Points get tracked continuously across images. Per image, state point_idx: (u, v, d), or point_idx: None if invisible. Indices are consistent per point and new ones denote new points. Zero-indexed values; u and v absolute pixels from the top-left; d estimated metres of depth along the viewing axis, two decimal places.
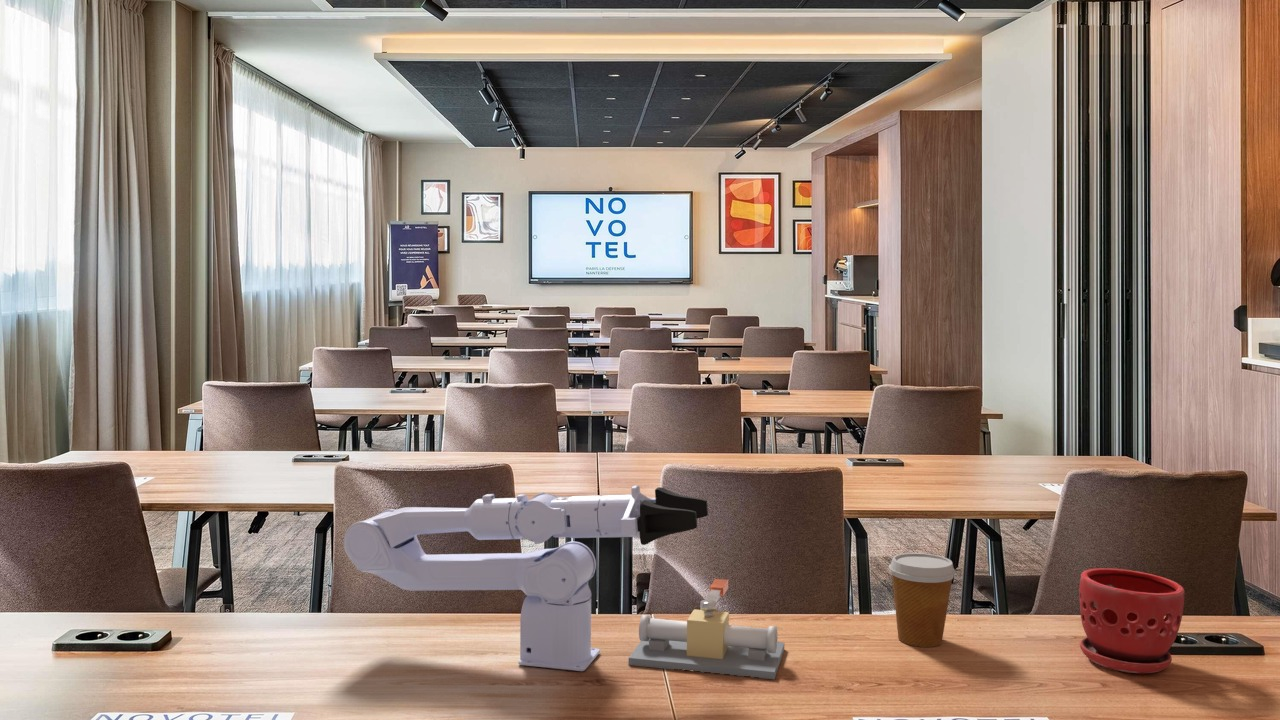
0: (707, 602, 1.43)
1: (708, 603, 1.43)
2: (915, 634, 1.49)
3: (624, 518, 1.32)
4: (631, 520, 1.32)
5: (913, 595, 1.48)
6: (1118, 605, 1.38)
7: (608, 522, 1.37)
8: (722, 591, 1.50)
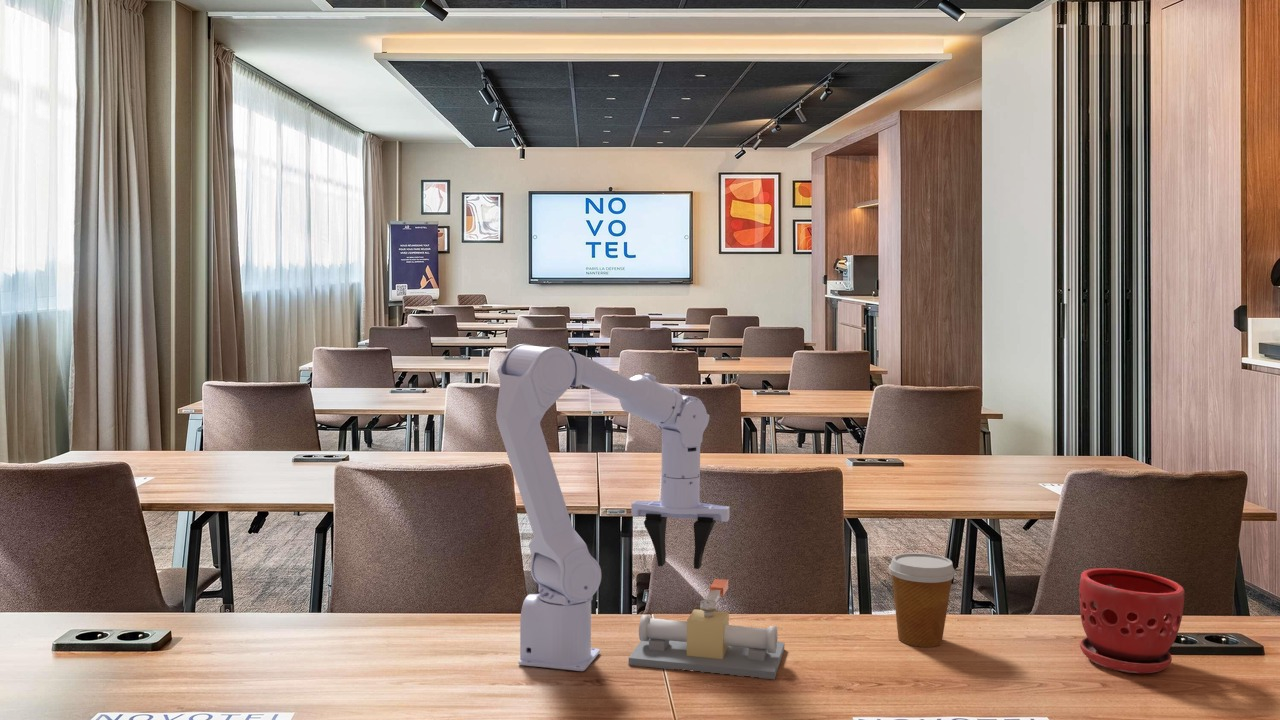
0: (707, 602, 1.43)
1: (708, 603, 1.43)
2: (915, 634, 1.49)
3: None
4: None
5: (913, 595, 1.48)
6: (1118, 605, 1.38)
7: (698, 486, 1.51)
8: (722, 591, 1.50)
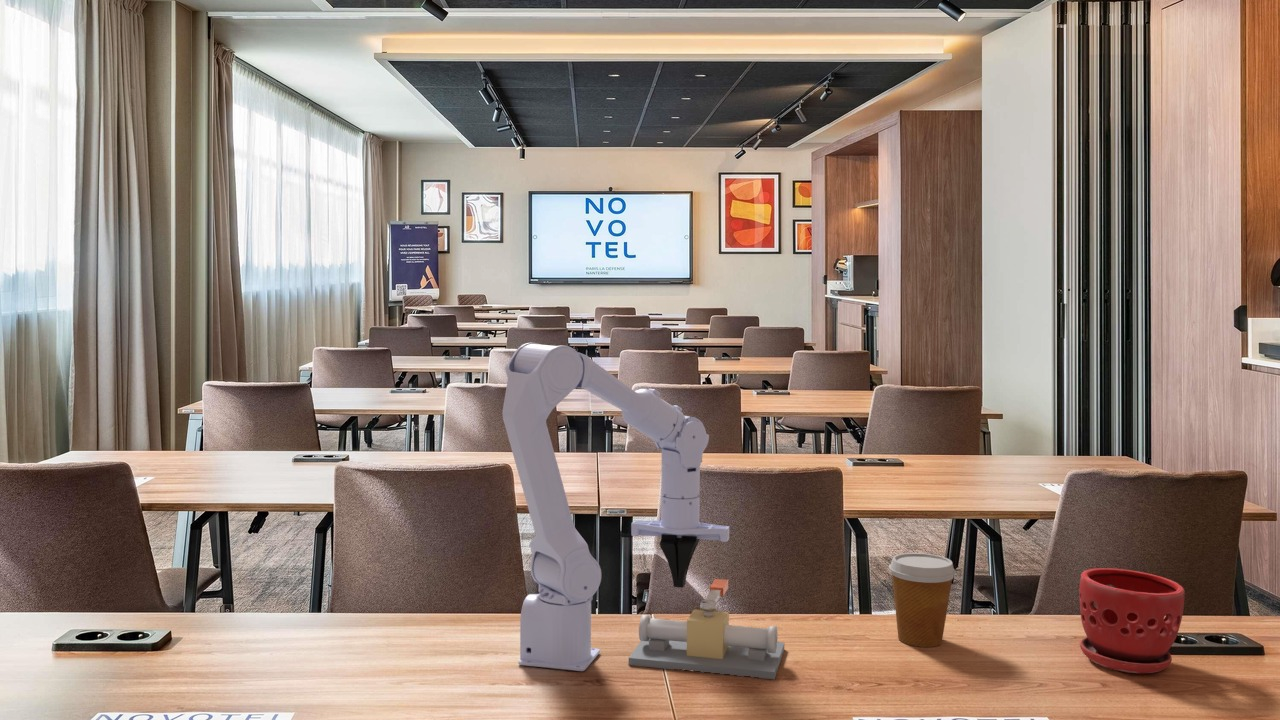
0: (707, 602, 1.43)
1: (708, 603, 1.43)
2: (915, 634, 1.49)
3: None
4: None
5: (913, 595, 1.48)
6: (1118, 605, 1.38)
7: (698, 506, 1.52)
8: (722, 591, 1.50)
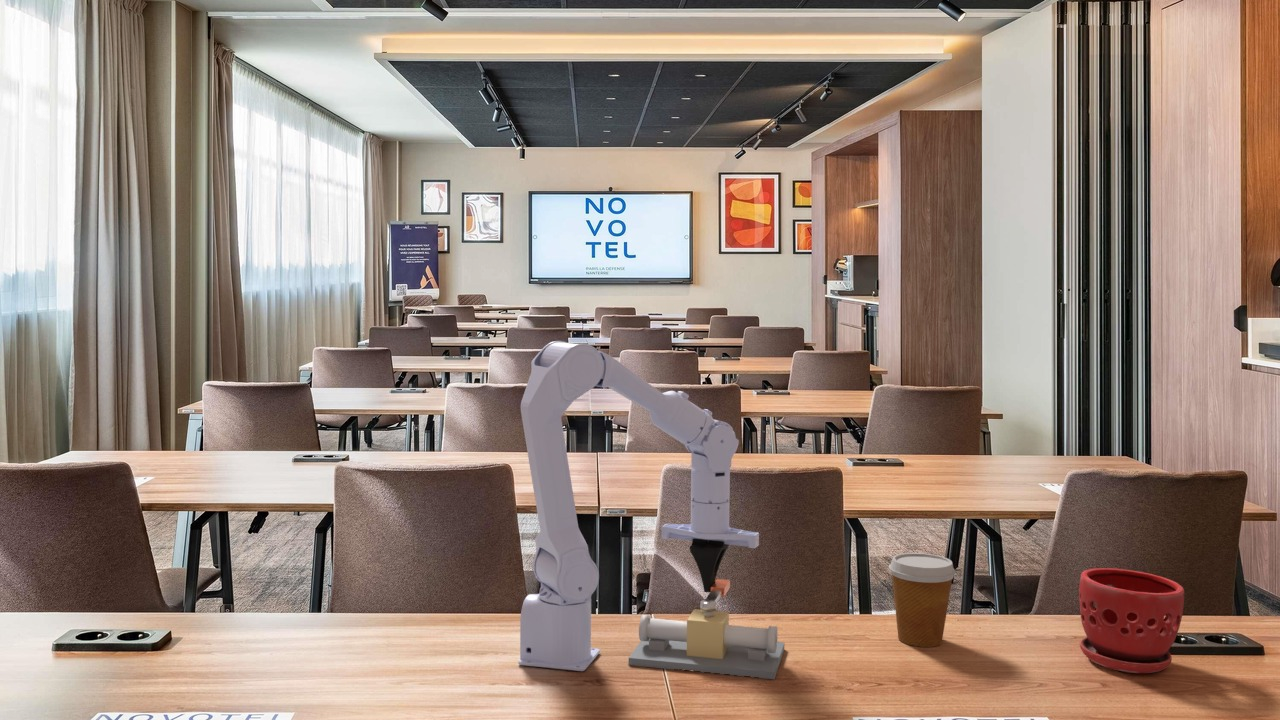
0: (707, 602, 1.43)
1: (708, 603, 1.43)
2: (915, 634, 1.49)
3: None
4: (758, 542, 1.50)
5: (913, 595, 1.48)
6: (1118, 605, 1.38)
7: (727, 511, 1.50)
8: (723, 591, 1.50)
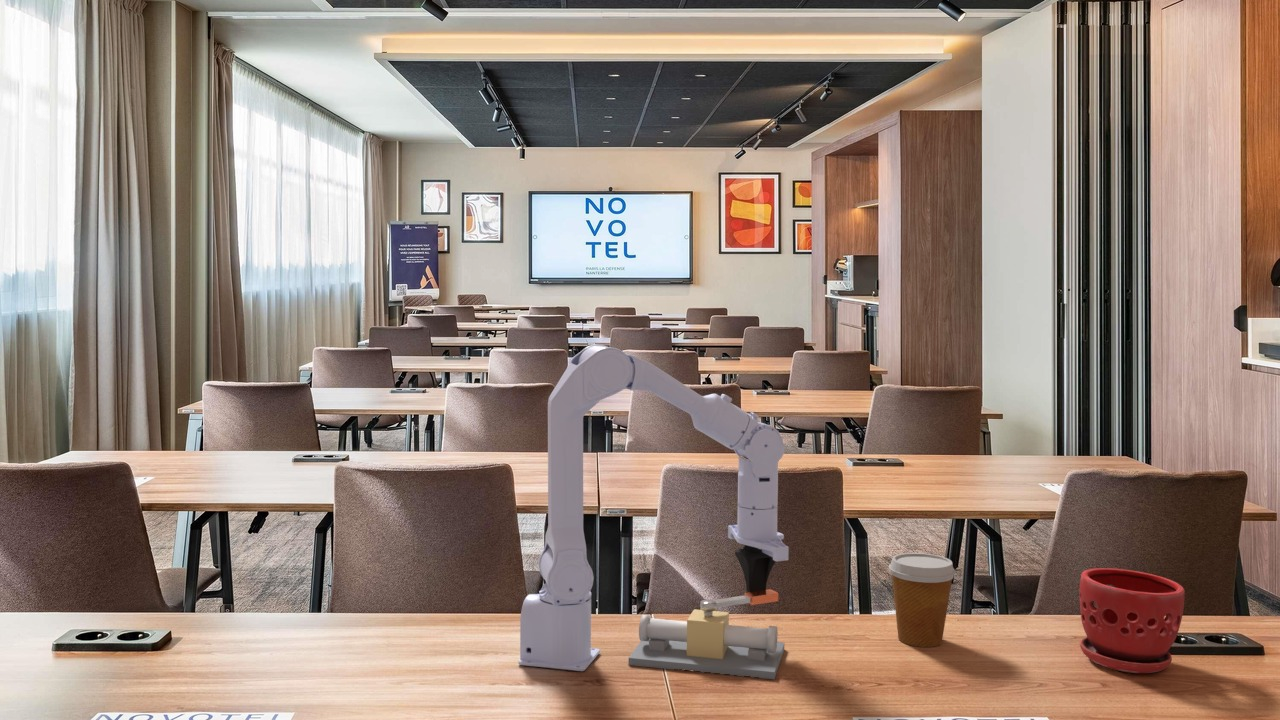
0: (706, 602, 1.43)
1: (704, 602, 1.43)
2: (915, 634, 1.49)
3: None
4: (787, 557, 1.42)
5: (913, 595, 1.48)
6: (1118, 605, 1.38)
7: (765, 519, 1.45)
8: (752, 600, 1.46)
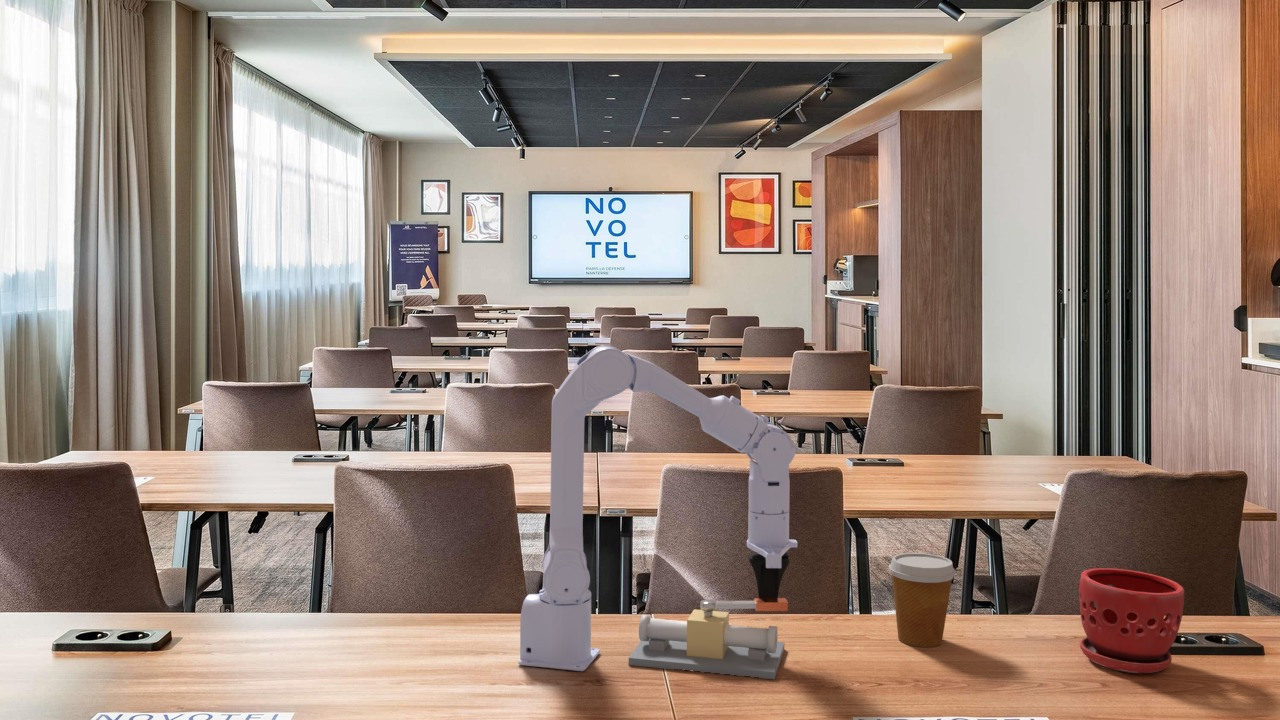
0: (706, 601, 1.43)
1: (703, 602, 1.43)
2: (915, 634, 1.49)
3: None
4: (780, 564, 1.38)
5: (913, 595, 1.48)
6: (1118, 605, 1.38)
7: (768, 524, 1.42)
8: None
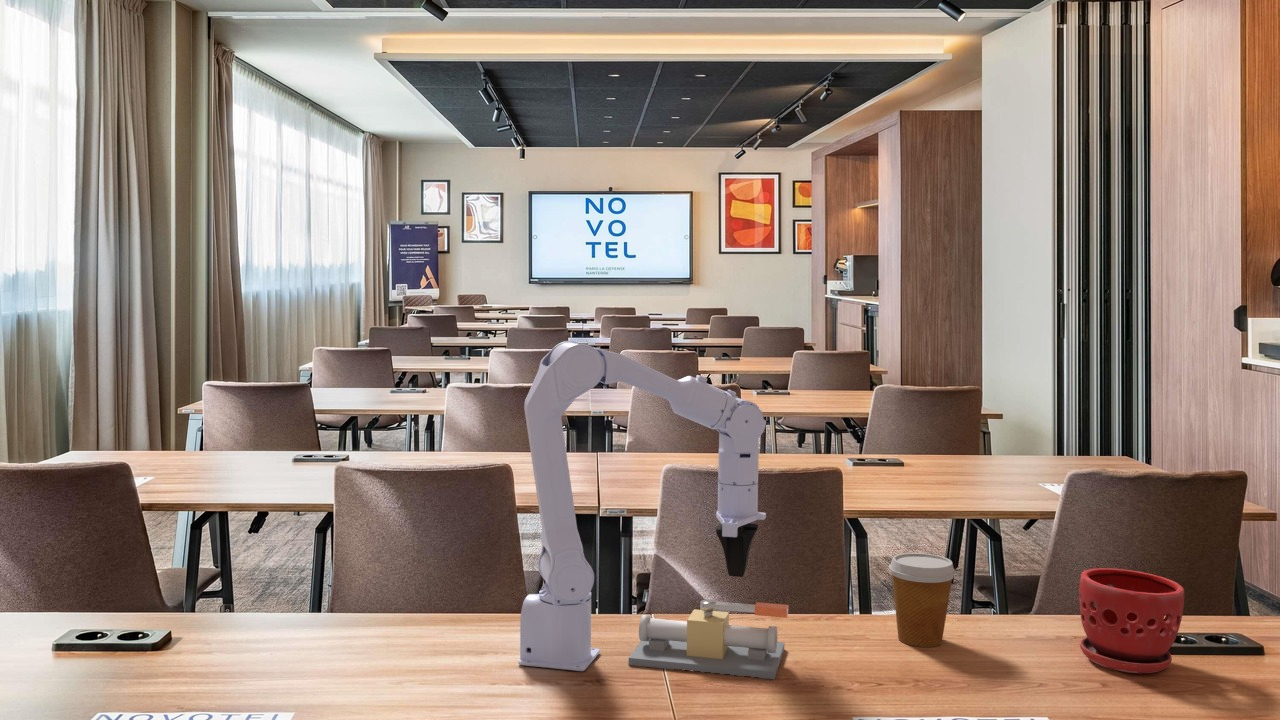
0: (706, 601, 1.44)
1: (703, 601, 1.43)
2: (915, 634, 1.49)
3: (737, 525, 1.41)
4: (735, 534, 1.41)
5: (913, 595, 1.48)
6: (1118, 605, 1.38)
7: (732, 495, 1.45)
8: (755, 610, 1.41)
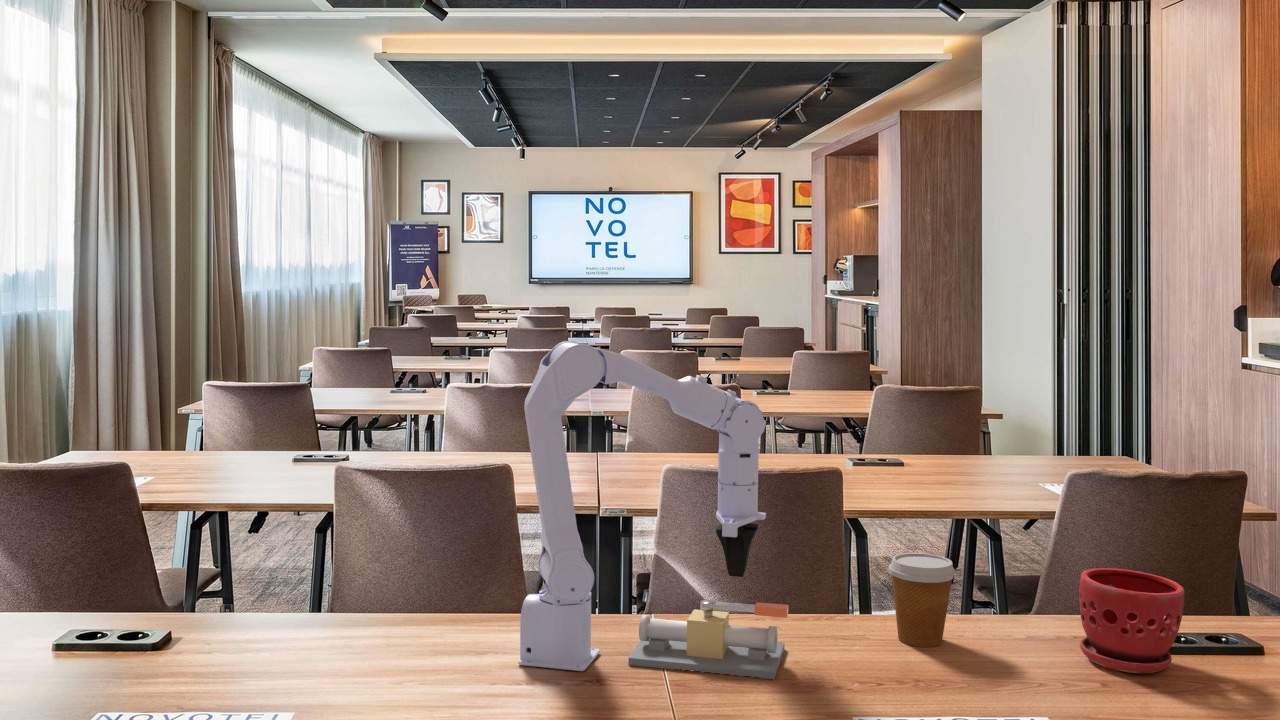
0: (706, 601, 1.44)
1: (703, 601, 1.43)
2: (915, 634, 1.49)
3: (737, 525, 1.41)
4: (735, 533, 1.41)
5: (913, 595, 1.48)
6: (1118, 605, 1.38)
7: (732, 495, 1.45)
8: (755, 610, 1.41)
